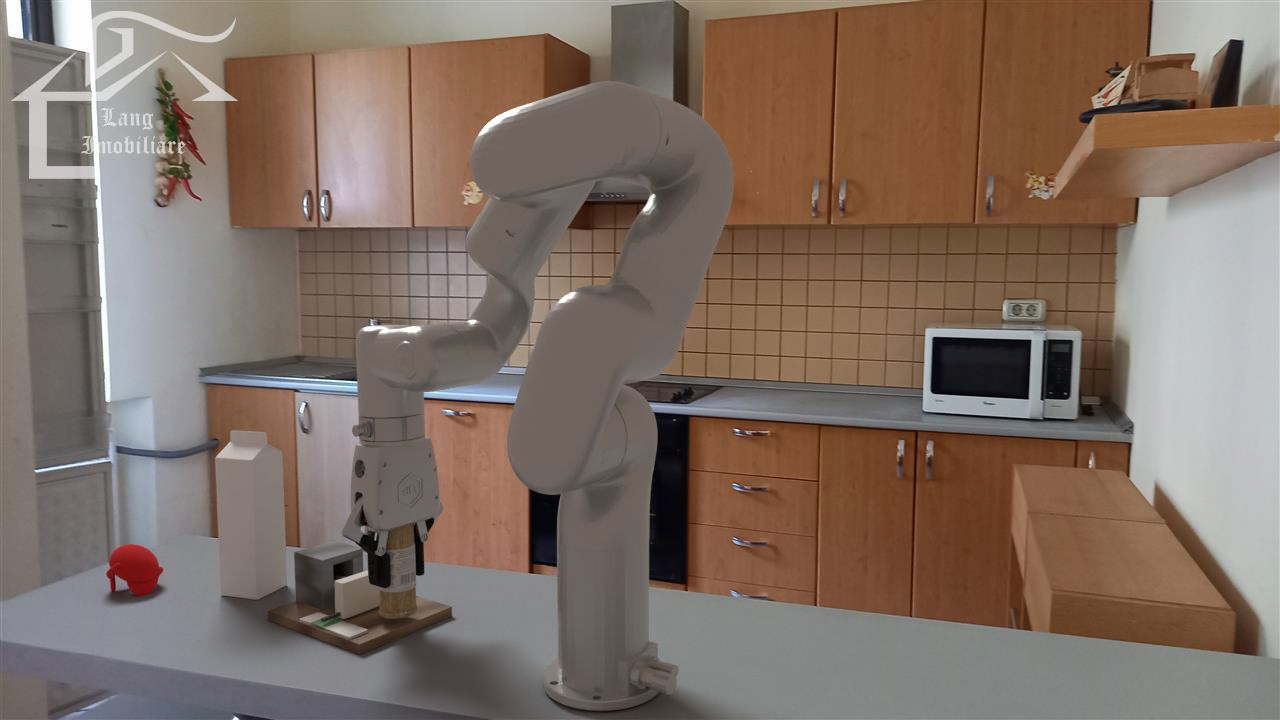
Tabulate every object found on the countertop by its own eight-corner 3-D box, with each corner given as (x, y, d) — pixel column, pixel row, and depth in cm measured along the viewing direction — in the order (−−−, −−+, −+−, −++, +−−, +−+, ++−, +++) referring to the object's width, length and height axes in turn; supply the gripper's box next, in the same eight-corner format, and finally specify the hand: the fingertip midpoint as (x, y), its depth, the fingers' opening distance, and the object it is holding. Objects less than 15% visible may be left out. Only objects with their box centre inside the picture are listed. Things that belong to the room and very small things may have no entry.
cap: (91, 566, 119) (97, 552, 115) (134, 542, 123) (142, 528, 119) (126, 613, 119) (133, 601, 115) (167, 587, 123) (176, 575, 119)
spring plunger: (396, 599, 111) (396, 565, 111) (326, 625, 102) (325, 589, 102) (363, 589, 115) (362, 556, 114) (293, 613, 106) (291, 578, 106)
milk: (252, 581, 122) (246, 426, 121) (288, 585, 121) (282, 428, 119) (219, 596, 117) (213, 433, 115) (257, 600, 115) (251, 435, 113)
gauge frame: (452, 615, 110) (450, 557, 109) (359, 654, 98) (357, 589, 97) (360, 587, 120) (359, 533, 119) (267, 619, 108) (265, 560, 108)
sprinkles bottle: (407, 603, 108) (404, 497, 107) (424, 614, 104) (420, 504, 103) (372, 612, 105) (368, 503, 104) (387, 623, 101) (384, 510, 100)
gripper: (352, 442, 94) (358, 607, 95) (466, 422, 108) (470, 566, 109) (310, 436, 98) (316, 594, 100) (425, 417, 112) (429, 556, 113)
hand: (397, 577), depth 104 cm, fingers closed on sprinkles bottle, 4 cm apart
